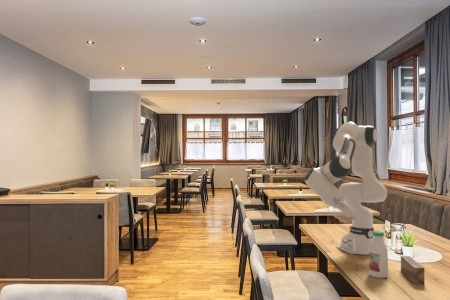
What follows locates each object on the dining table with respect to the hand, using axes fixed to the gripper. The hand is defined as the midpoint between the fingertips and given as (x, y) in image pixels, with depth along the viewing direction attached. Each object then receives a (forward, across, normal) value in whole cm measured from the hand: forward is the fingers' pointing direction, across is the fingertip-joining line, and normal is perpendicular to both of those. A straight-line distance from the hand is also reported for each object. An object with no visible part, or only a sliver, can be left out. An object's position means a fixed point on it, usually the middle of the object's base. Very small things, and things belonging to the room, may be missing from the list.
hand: (355, 219), depth 169 cm
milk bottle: (+25, 0, +11) cm, 28 cm away
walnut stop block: (+35, 0, +1) cm, 35 cm away
